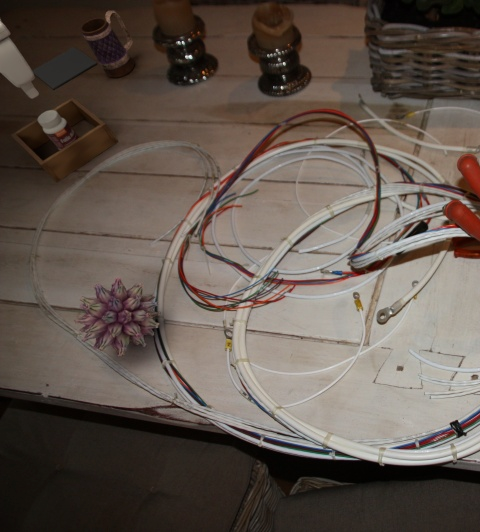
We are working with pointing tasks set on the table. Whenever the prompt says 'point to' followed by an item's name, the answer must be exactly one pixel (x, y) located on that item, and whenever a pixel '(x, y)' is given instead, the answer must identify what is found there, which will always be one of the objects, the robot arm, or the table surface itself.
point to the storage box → (75, 151)
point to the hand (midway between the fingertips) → (23, 86)
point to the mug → (108, 45)
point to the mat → (64, 68)
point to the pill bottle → (57, 129)
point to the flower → (118, 316)
